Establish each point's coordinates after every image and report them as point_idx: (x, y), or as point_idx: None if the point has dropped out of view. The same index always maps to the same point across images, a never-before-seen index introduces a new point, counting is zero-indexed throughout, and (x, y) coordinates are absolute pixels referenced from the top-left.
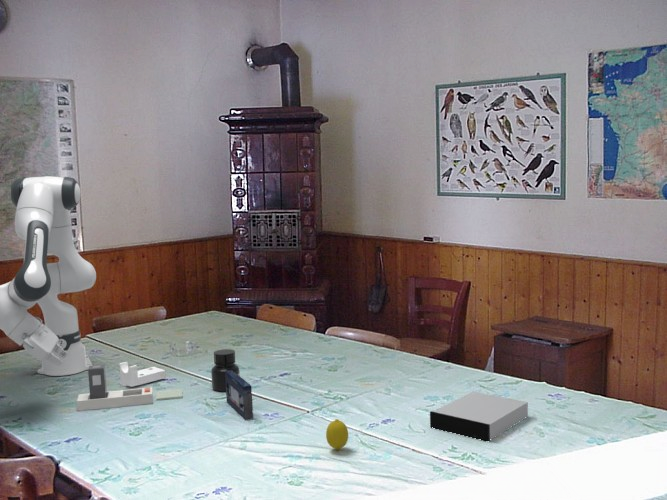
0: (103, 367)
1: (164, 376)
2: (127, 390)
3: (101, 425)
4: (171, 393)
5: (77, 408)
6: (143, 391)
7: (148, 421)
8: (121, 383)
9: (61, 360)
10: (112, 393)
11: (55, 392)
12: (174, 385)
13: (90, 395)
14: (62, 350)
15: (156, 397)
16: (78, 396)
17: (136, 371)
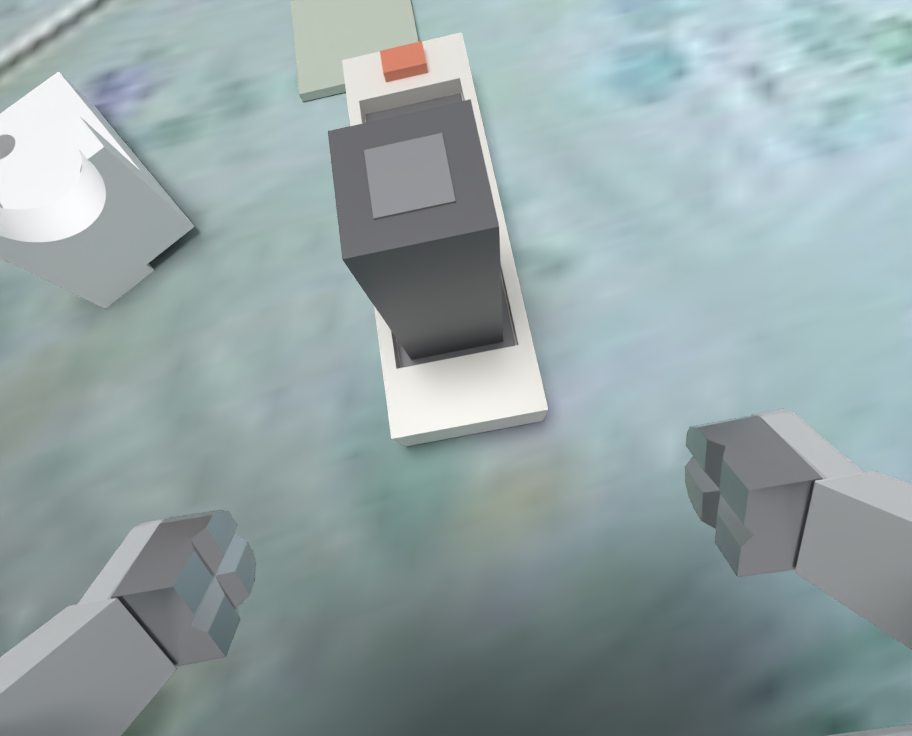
0: (443, 107)
1: (89, 102)
2: None
3: (795, 219)
4: (354, 24)
5: (543, 417)
6: (408, 82)
7: (729, 32)
8: (108, 296)
9: (775, 428)
10: None
11: None
12: (207, 56)
13: (501, 324)
14: (123, 606)
15: None
16: (440, 429)
17: (114, 148)
